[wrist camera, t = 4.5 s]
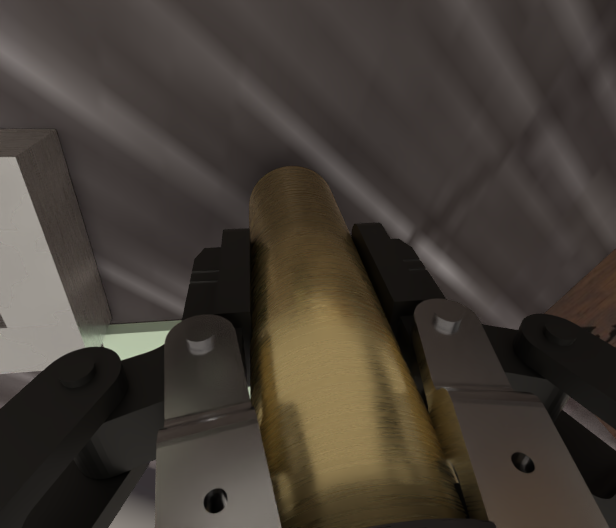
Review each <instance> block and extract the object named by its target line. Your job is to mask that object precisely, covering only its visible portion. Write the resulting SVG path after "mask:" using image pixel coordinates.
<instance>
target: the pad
mask: <svg viewBox="0 0 616 528" xmlns="http://www.w3.org/2000/svg"><path fill="white" fill-rule="evenodd" d="M181 321H182V320H176V321H160V322H144V323H129V324H113V325H109V326H108V329H107V331H106V334H105V336H104V339H103V341H102V342H103V345H104V347H105V348H108V349H111V350H113V351H114V352H116V353H117V354H118V355H119V357H120V359H121V360H124V359H127V358H131V357H134V356H137V355H140V354H143V353H146V352H149V351H152V350H154V349H156V348H158V347H160V346H162V345H163V344H165V339H166V336H167V334H168V333H169V331H170V330H171V329H172V328H173V327H174V326H175V325H177V324H178V323H180V322H181ZM248 391H249V396H250V387H248Z"/></svg>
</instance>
